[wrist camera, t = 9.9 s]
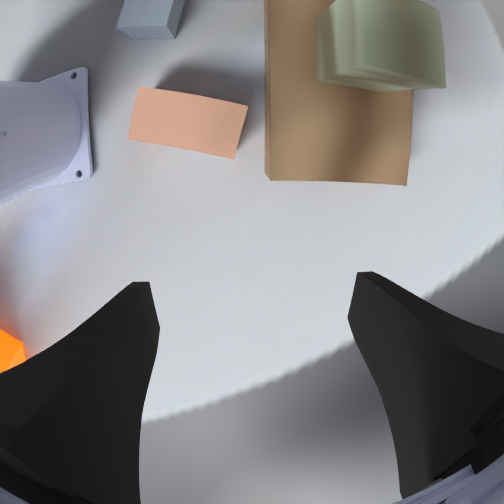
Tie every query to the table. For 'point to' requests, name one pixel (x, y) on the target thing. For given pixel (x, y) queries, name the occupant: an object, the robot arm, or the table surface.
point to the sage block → (380, 45)
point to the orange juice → (10, 351)
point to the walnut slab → (326, 111)
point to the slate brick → (150, 18)
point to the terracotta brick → (187, 121)
